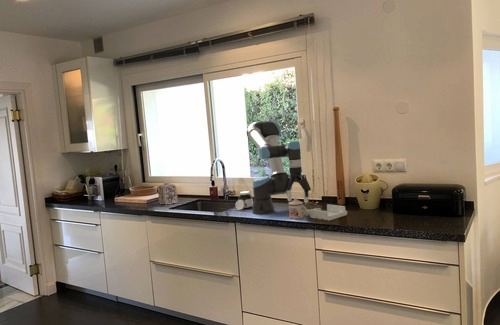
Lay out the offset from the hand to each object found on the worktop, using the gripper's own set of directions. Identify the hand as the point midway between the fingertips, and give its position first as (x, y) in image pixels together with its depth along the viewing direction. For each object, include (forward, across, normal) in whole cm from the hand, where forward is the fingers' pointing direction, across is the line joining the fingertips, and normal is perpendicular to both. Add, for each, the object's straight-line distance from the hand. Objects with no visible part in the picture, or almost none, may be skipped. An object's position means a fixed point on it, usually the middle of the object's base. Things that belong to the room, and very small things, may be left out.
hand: (297, 201), depth 233 cm
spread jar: (+9, -53, +1) cm, 54 cm away
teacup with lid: (+10, -1, 0) cm, 10 cm away
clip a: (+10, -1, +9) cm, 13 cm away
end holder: (+10, +12, +13) cm, 20 cm away
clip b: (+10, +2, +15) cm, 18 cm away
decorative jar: (+8, -128, -20) cm, 130 cm away
